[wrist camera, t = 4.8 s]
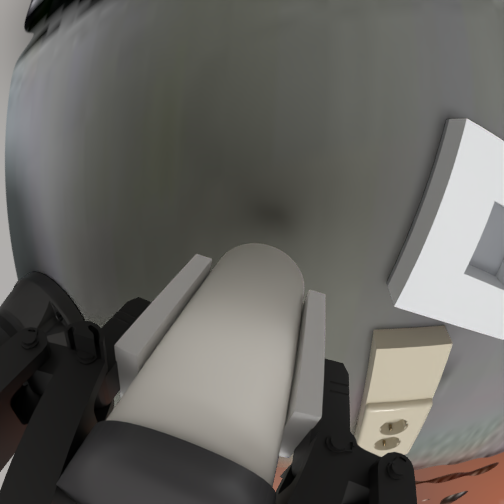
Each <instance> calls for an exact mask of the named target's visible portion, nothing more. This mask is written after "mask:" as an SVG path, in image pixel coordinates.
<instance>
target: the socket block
mask: <svg viewBox="0 0 504 504" xmlns="http://www.w3.org/2000/svg"><path fill="white" fill-rule="evenodd" d="M387 286H388V289H389V292H390V295H391V298H392V301H393V304H394V307H397V308H401V309H404V310H407V311H410V312H414V313H417V314H420V315H423V316H427V317H430V318H433V319H436V320H440V321H443V322H446V323H450V324H453V325H456V326H459V327H463V328H466V329H469V330H473V331H476V332H479V333H483V334H486V335H489V336H493V337H496V338H499V339H503V340H504V141H503V140H501V139H500V138H498V137H497V136H495V135H494V134H492V133H490V132H489V131H487V130H486V129H484V128H482V127H481V126H479V125H477V124H475V123H474V122H472V121H470V120H469V119H467V118H466V119H446V123H445V127H444V130H443V134H442V138H441V141H440V145H439V148H438V152H437V155H436V158H435V162H434V165H433V168H432V171H431V174H430V177H429V180H428V183H427V186H426V189H425V192H424V194H423V197H422V200H421V203H420V205H419V208H418V211H417V213H416V216H415V219H414V221H413V224H412V226H411V229H410V231H409V233H408V236H407V238H406V241H405V243H404V245H403V248H402V250H401V252H400V255H399V257H398V259H397V261H396V264H395V266H394V268H393V270H392V272H391V274H390V277H389V279H388V281H387Z"/></svg>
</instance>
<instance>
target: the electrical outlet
mask: <svg viewBox="0 0 504 504" xmlns="http://www.w3.org/2000/svg"><path fill="white" fill-rule="evenodd" d="M452 344H453V343H452V341H451V339H450V337H449V334H448V332H447V330H446V328H445V326H444V325H443V326H430V327H416V328H398V329H375V330H373V337H372V344H371V351H370V358H369V364H368V370H367V376H366V381H365V387H364V392H363V397H362V402H361V407H360V411H359V416H358V420H357V424H356V429H355V433H354V437H355V439H356V441H357V444H358V445H359V446H360V447H361V448H363V449H365V450H367V451H369V452H371V453H373V454H376V455H378V456H380V457H382V456H384V455H385V454H387V453H390V452H398V453H402V454H403V455H405V454H407V453H408V452H409V451H410V449H411V447H412V445H413V443H414V442H415V440H416V438H417V436H418V434H419V432H420V430H421V428H422V426H423V424H424V422H425V420H426V418H427V416H428V414H429V411H430V409H431V407H432V404H433V402H432V398H433V396H434V393H435V391H436V388H437V386H438V383H439V381H440V378H441V376H442V373H443V370H444V368H445V365H446V362H447V359H448V356H449V353H450V350H451V347H452Z"/></svg>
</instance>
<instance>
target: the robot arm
mask: <svg viewBox="0 0 504 504" xmlns="http://www.w3.org/2000/svg"><path fill="white" fill-rule="evenodd" d="M211 262H212V259H211V258H208V257H205V256H202V255H199V254H196V255H195V256H194V257H193V258H192V259H191V260H190V261H189V262H188V263H187V264H186V266H185V267H184V268H183V269H182V270H181V271H180V272H179V273H178V274H177V275H176V276H175V277H174V279H173V280H172V281H171V282H170V283H169V284H168V285H167V286H166V287H165V288H164V290H163V291H162V292H161V293H160V294H159V295H158V296H157V297H156V298H155V300H154V301H153V302H149V301H147V300H144V299H142V298H139V297H138V298H135V299H133V300H131V301H129V302H127V303H126V304H125V305H124V306H123V307H122V308H121V309H120V310H119V311H118V312H117V313H116V314H115V315H114V316H113V318H111V319H110V320H109V321H108V322H107V323H106V324H105V325H104V326H103V327H102V328H100V327H99V326H98V325H97V324H95V323H92V322H89V321H84V320H83V318H82V316H81V315H80V313H79V311H78V310H77V308H76V306H75V305H74V303H73V302H72V301H71V299H70V298H69V297H68V296H67V294H66V293H65V292H64V291H63V290H62V289H61V288H60V287H59V286H58V285H57V284H56V283H55V282H54V281H53V280H51V279H50V278H49V277H47V276H45V275H44V274H41V273H38V272H31V273H29V274H27V275H26V276H24V277H23V278H21V279H20V280H19V281H18V282H17V283H16V285H15V286H14V288H13V290H12V292H11V293H10V294H9V295H8V297H7V298H6V300H5V301H4V302H3V304H2V305H1V306H0V471H1V470H2V469H3V468H4V466H5V465H6V464H7V462H8V461H9V460H10V458H11V457H12V456H13V455H14V457H13V459H12V461H11V464H10V466H9V469H8V472H7V474H6V476H5V479H4V482H3V485H2V487H1V490H0V504H77V503H76V502H75V501H73V500H72V499H71V498H70V497H69V496H68V495H67V494H66V493H65V492H64V491H62V490H61V489H60V488H59V487H58V486H57V485H56V483H57V482H58V480H59V479H60V477H61V475H62V474H63V472H64V470H65V469H66V467H67V465H68V464H69V462H70V461H71V459H72V458H73V456H74V455H75V453H76V452H77V450H78V449H79V447H80V446H81V444H82V443H83V442H84V440H85V439H86V437H87V436H88V434H89V433H90V431H91V430H92V428H93V427H94V426H95V425H96V424H97V423H98V422H101V421H106V419H107V418H108V416H109V415H110V413H111V412H112V410H113V408H114V397H115V396H116V394H117V393H118V391H119V390H120V396H121V397H122V396H123V394H124V393H125V392H126V390H127V389H128V387H129V386H130V384H131V383H132V381H133V380H134V379H135V377H136V376H137V374H138V373H139V371H140V370H141V369H142V367H143V366H144V364H145V363H146V361H147V360H148V359H149V357H150V356H151V354H152V353H153V351H154V350H155V349H156V347H157V346H158V344H159V343H160V342H161V340H162V339H163V337H164V336H165V335H166V333H167V332H168V330H169V329H170V328H171V326H172V325H173V323H174V322H175V321H176V319H177V318H178V316H179V315H180V314H181V312H182V311H183V309H184V308H185V307H186V305H187V304H188V303H189V301H190V300H191V298H192V297H193V296H194V294H195V293H196V291H197V290H198V289H199V287H200V286H201V285H202V283H203V282H204V281H205V279H206V278H207V276H208V275H209V273H210V267H211ZM348 386H349V374H348V372H347V370H346V368H345V366H344V364H343V363H340V362H336V361H332V360H328V359H325V294H323V293H320V292H316V291H313V290H310V289H309V291H308V293H307V296H306V299H305V301H304V304H303V307H302V315H301V323H300V331H299V338H298V345H297V353H296V359H295V366H294V373H293V379H292V386H291V392H290V398H289V404H288V410H287V416H286V421H285V427H284V432H283V438H282V443H281V448H280V453H279V456H282V457H287V458H289V457H290V456H291V455H292V454H293V452H294V456H293V462H292V464H291V465H290V466H289V467H288V468H287V469H286V470H285V471H284V473H283V474H282V475H281V476H280V477H281V478H283V479H282V481H281V483H280V485H279V487H278V488H277V490H276V497H277V498H276V503H275V504H417V497H416V486H415V476H414V469H413V465H412V463H411V461H410V460H409V459H408V457H406V456H405V455H403V454H402V453H398V452H390V453H387V454H385V455H384V456H382V457H380V456H378V455H376V454H373V453H371V452H369V451H367V450H365V449H363V448H361V447H360V446H359V445H358V444H357V441H356V439H355V437H354V436H353V434H352V433H351V432H350V404H349V387H348ZM14 453H15V454H14Z"/></svg>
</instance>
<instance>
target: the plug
mask: <svg viewBox="0 0 504 504" xmlns="http://www.w3.org/2000/svg"><path fill="white" fill-rule="evenodd" d="M303 298H304V279H303V276H302V273H301V271H300V269H299V267H298V266H297V264H296V263H295V262H294V261H293V259H292V258H290V257H289V256H288V255H287V254H286V253H284V252H283V251H281V250H279V249H277V248H275V247H273V246H270V245H266V244H260V243H249V244H243V245H239V246H237V247H235V248H233V249H231V250H229V251H228V252H227V253H225V254H224V255H223V256H222V258H221V259H220V260H219V261H218V263H217V264H216V266H215V267H214V268H213V270H212V271H211V272H210V274H209V275H208V276H207V278H206V279H205V281H204V282H203V283H202V285H201V286H200V287H199V289H198V290H197V291H196V293H195V294H194V296H193V297H192V298H191V300H190V301H189V303H188V304H187V305H186V307H185V308H184V309H183V311H182V312H181V314H180V315H179V316H178V318H177V319H176V321H175V322H174V323H173V325H172V326H171V328H170V329H169V330H168V332H167V333H166V335H165V336H164V337H163V339H162V340H161V342H160V343H159V344H158V346H157V347H156V349H155V350H154V351H153V353H152V354H151V356H150V357H149V359H148V360H147V361H146V363H145V364H144V366H143V367H142V369H141V370H140V371H139V373H138V374H137V376H136V377H135V379H134V380H133V381H132V383H131V384H130V386H129V387H128V389H127V390H126V392H125V393H124V394H123V396H122V397H121V399H120V400H119V402H118V403H117V405H116V406H115V408H114V409H113V410H112V412H111V413H110V415H109V416H108V418H107V419H106V421H101V422H98V423H97V424H96V425H95V426H94V427H93V428H92V430H91V431H90V433H89V434H88V436H87V437H86V439H85V440H84V442H83V443H82V444H81V446H80V447H79V449H78V450H77V452H76V453H75V455H74V456H73V458H72V459H71V461H70V462H69V464H68V465H67V467H66V469H65V470H64V472H63V474H62V475H61V477H60V479H59V480H58V482H57V483H56V485H57V486H58V487H59V488H60V489H61V490H62V491H64V492H65V493H66V494H67V495H68V496H69V497H70V498H71V499H72V500H73V501H75V502H76V503H77V504H275V503H276V498H277V497H276V492H275V490H274V489H273V488H272V487H273V482H274V477H275V473H276V468H277V463H278V458H279V453H280V448H281V443H282V438H283V432H284V427H285V421H286V416H287V410H288V404H289V398H290V392H291V386H292V379H293V373H294V366H295V359H296V353H297V345H298V338H299V331H300V323H301V315H302V307H303Z"/></svg>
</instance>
